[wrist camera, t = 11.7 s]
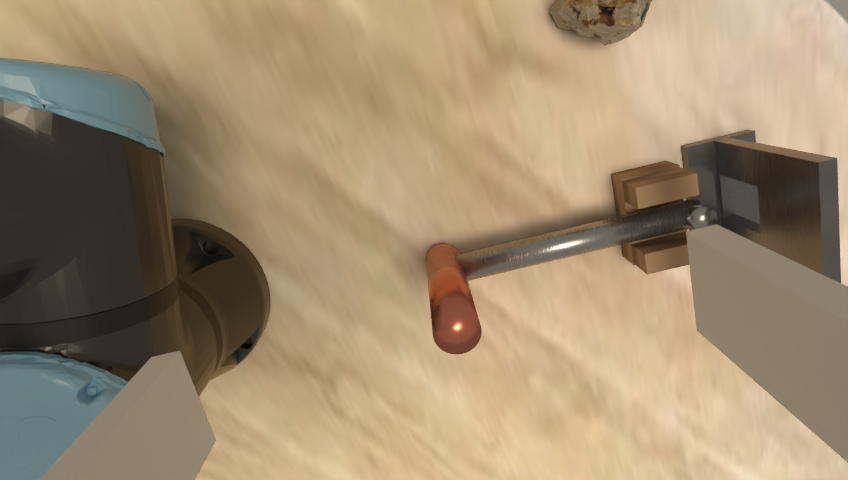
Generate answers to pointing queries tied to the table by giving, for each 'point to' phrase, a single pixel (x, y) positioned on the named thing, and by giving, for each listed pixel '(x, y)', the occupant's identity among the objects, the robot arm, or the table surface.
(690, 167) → the eye bracket
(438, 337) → the hook
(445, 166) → the table surface
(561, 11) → the rock
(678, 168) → the cradle
